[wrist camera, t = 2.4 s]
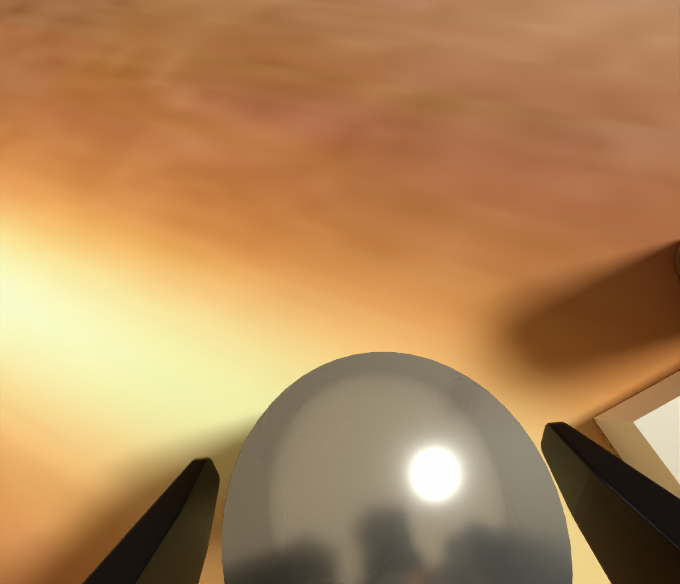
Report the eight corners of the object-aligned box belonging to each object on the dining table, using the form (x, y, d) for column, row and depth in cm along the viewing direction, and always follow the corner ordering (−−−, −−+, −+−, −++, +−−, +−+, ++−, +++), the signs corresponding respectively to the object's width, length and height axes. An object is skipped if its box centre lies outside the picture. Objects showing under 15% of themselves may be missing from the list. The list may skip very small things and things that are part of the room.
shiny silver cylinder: (349, 506, 15) (300, 866, 3) (308, 409, 16) (181, 434, 5) (438, 458, 15) (658, 640, 4) (390, 367, 17) (446, 303, 5)
